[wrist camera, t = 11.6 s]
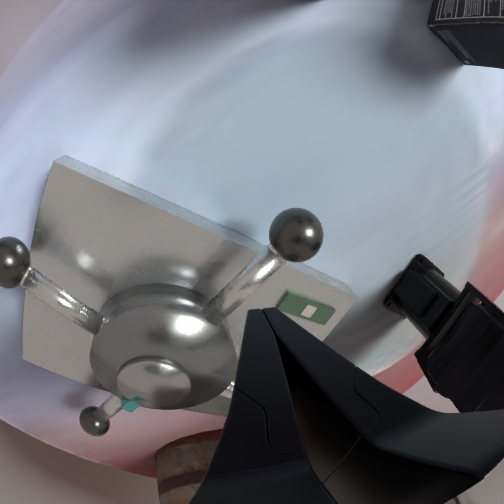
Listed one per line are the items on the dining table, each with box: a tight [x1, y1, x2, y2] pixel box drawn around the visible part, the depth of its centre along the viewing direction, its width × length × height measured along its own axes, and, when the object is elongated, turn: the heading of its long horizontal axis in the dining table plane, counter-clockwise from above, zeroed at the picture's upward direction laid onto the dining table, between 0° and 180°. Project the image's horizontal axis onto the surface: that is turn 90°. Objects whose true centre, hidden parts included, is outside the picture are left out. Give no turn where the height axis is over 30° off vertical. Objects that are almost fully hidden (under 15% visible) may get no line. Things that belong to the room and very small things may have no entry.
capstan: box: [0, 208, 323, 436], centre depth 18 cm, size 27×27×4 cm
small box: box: [428, 0, 504, 69], centre depth 10 cm, size 11×6×10 cm, turn 159°
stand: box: [22, 155, 358, 416], centre depth 21 cm, size 24×18×2 cm
